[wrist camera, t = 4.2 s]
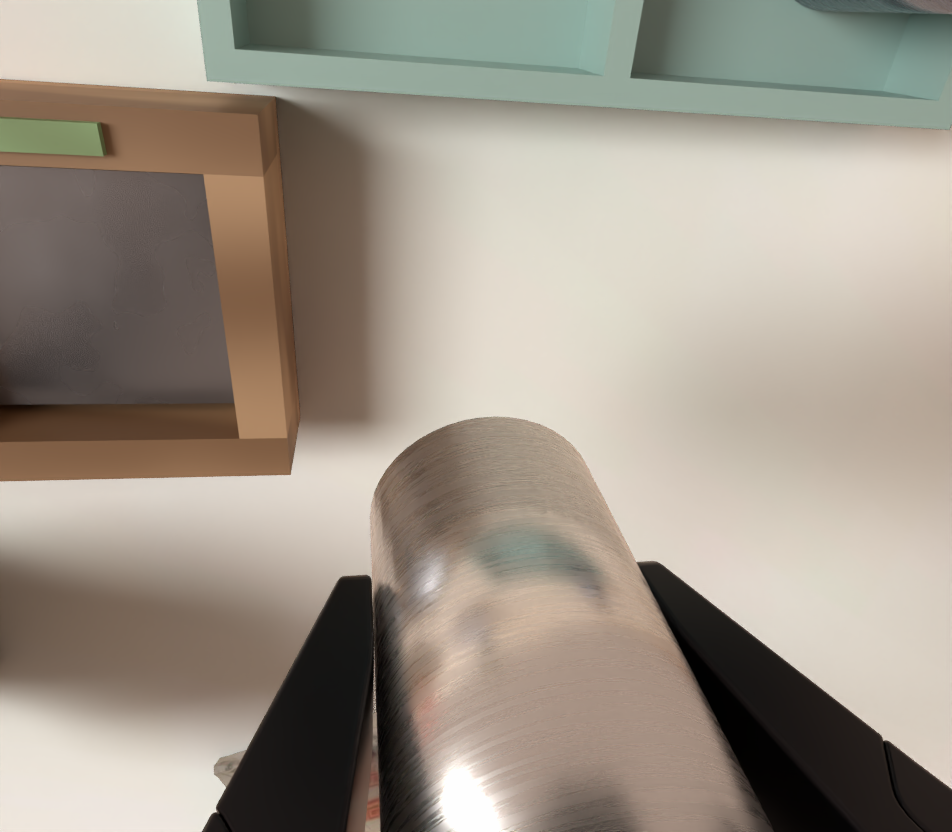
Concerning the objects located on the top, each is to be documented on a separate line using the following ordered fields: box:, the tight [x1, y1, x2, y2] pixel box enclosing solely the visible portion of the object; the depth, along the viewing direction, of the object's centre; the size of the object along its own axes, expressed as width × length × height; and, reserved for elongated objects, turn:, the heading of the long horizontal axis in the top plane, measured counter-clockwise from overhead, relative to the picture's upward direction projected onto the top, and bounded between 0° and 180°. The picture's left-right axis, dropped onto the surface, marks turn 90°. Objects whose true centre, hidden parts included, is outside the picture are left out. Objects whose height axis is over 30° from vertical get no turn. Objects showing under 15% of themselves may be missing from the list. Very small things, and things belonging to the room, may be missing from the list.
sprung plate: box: [0, 165, 235, 405], centre depth 16 cm, size 6×6×1 cm
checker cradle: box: [0, 79, 300, 481], centre depth 16 cm, size 9×9×3 cm
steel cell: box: [370, 417, 774, 832], centre depth 8 cm, size 4×4×7 cm
